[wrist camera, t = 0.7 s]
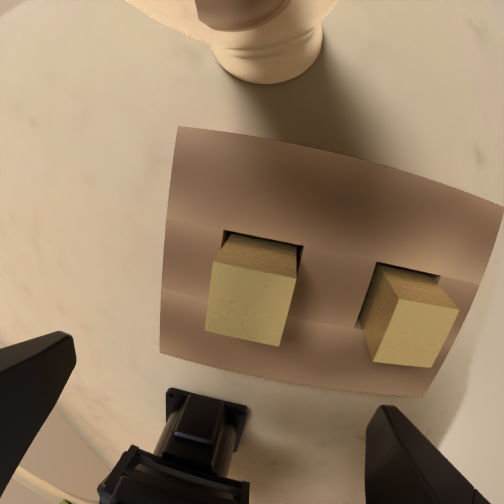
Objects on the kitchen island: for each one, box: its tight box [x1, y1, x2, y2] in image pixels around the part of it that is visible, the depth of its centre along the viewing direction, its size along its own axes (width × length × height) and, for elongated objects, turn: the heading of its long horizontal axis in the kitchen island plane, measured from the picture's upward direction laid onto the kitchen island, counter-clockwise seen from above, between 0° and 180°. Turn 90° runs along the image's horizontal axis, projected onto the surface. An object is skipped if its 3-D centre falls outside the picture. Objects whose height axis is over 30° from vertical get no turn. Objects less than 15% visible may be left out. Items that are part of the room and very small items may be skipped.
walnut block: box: [160, 126, 504, 397], centre depth 16 cm, size 12×16×4 cm
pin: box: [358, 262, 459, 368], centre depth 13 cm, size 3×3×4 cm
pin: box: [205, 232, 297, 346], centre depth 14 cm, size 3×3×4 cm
